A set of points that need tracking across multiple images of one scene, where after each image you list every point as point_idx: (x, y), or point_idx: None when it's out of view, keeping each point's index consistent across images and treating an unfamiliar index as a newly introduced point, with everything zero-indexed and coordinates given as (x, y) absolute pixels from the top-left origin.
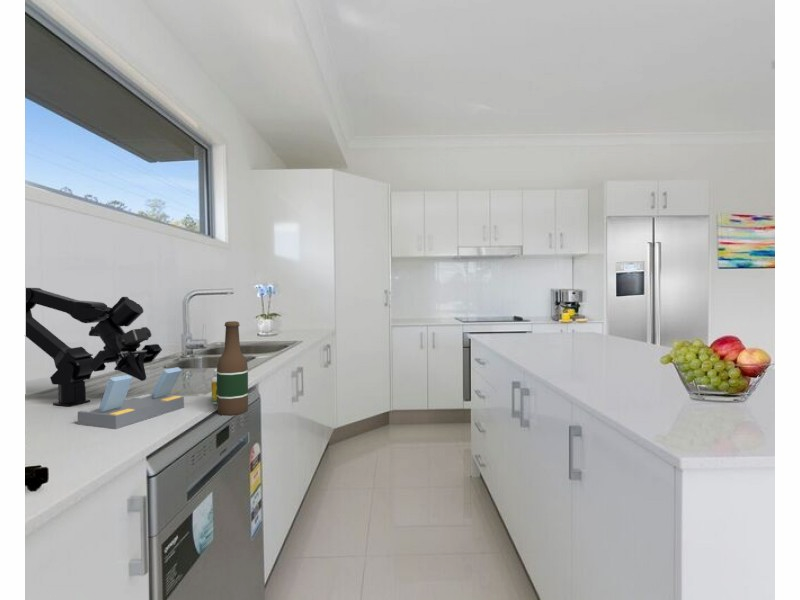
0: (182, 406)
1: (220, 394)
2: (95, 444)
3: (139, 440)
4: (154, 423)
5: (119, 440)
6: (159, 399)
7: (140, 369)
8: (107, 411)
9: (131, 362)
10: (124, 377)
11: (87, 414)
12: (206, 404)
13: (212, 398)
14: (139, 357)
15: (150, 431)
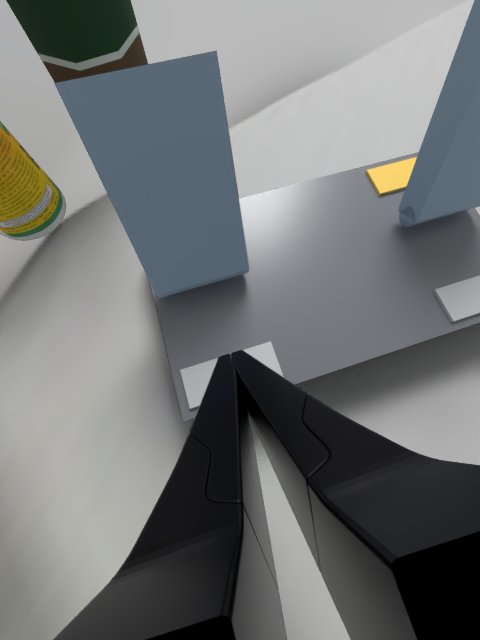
0: None
1: (133, 12)
2: None
3: (389, 72)
4: (310, 157)
5: (422, 99)
6: None
7: (241, 420)
8: (442, 222)
9: (400, 463)
10: None
11: None
12: (77, 233)
13: (51, 202)
14: (217, 584)
15: (347, 107)
